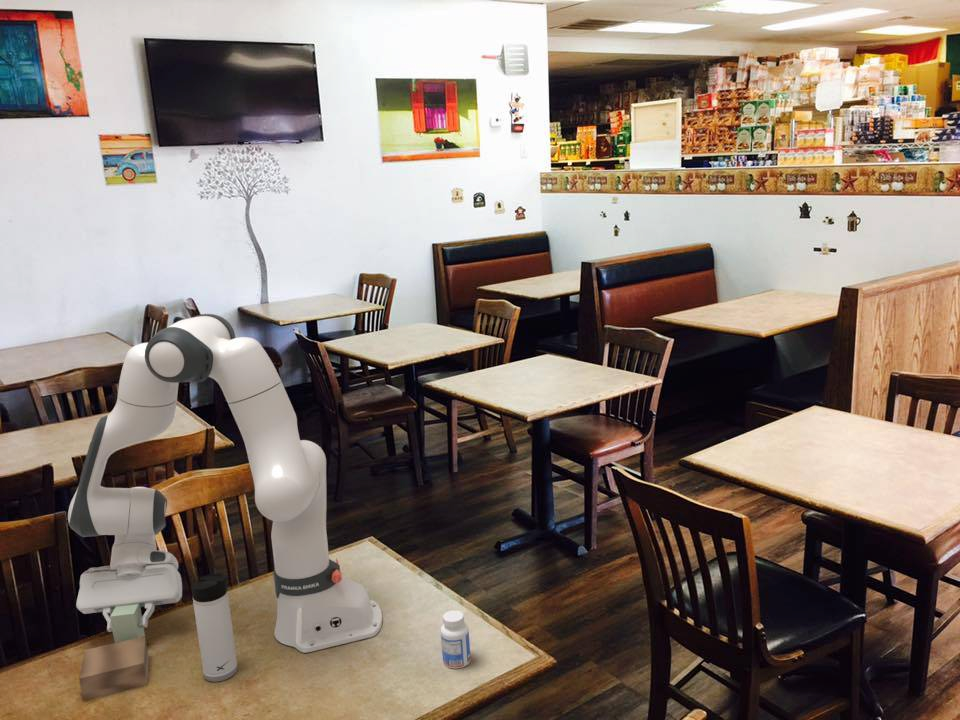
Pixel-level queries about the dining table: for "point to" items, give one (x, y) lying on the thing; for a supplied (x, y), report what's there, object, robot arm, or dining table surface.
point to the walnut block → (114, 668)
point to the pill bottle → (455, 640)
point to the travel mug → (214, 627)
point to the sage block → (126, 622)
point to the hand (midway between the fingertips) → (127, 629)
